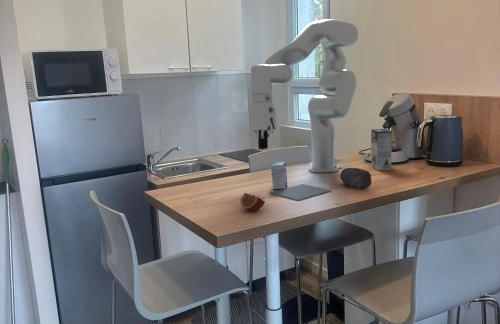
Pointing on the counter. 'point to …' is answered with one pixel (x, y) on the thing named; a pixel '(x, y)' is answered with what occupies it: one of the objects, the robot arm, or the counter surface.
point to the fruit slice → (251, 202)
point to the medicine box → (279, 175)
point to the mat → (300, 192)
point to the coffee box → (381, 149)
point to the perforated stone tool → (356, 177)
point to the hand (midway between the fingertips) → (263, 148)
